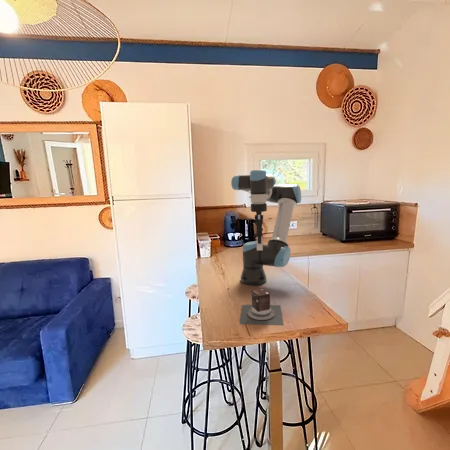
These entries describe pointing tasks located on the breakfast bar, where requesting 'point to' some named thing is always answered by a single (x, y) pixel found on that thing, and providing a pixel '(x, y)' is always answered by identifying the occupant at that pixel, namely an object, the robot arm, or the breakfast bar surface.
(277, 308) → the mat
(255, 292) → the box
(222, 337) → the breakfast bar surface
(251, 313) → the metal bowl
